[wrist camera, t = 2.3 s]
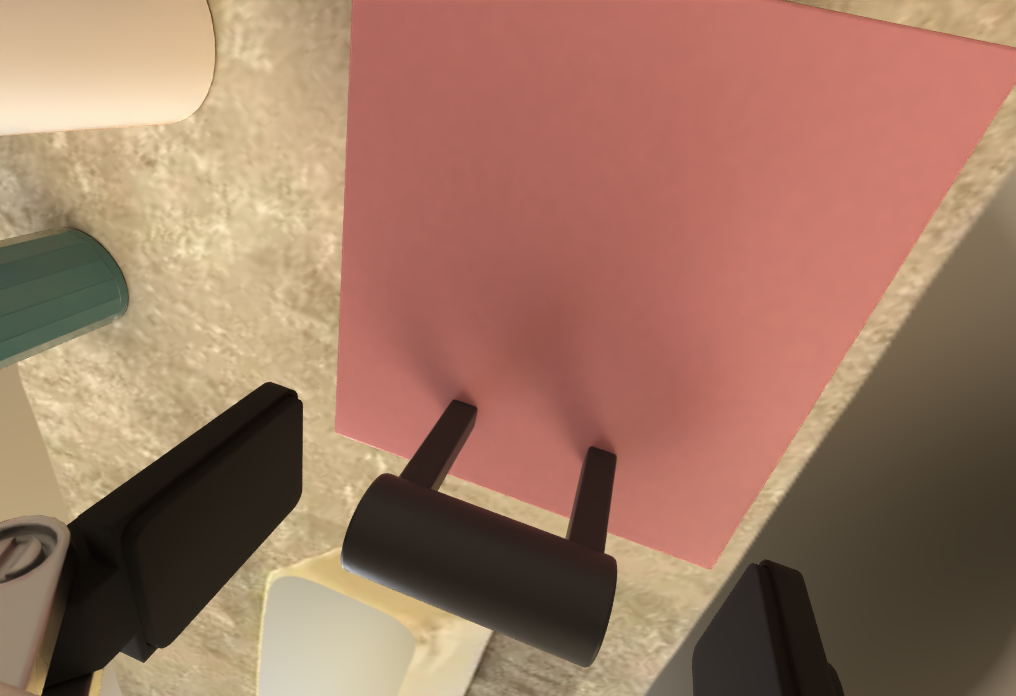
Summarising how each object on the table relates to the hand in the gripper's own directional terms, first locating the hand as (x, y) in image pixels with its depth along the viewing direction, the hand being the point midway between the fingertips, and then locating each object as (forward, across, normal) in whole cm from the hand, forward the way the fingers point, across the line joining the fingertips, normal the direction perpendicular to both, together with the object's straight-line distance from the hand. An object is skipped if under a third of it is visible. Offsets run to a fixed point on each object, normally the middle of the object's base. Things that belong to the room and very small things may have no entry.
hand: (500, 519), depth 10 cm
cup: (+12, +26, +7) cm, 30 cm away
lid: (+3, 0, -4) cm, 5 cm away
